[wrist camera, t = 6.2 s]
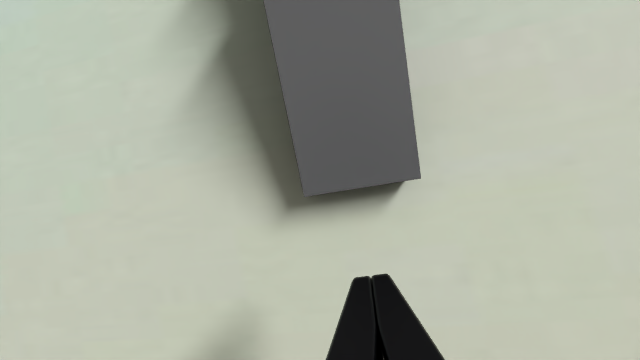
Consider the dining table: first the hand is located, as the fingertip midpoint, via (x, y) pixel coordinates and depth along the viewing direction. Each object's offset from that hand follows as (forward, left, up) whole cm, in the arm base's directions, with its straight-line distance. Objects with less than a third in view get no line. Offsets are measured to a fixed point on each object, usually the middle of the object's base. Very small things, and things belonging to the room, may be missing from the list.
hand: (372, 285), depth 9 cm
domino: (+2, +3, -8) cm, 8 cm away
